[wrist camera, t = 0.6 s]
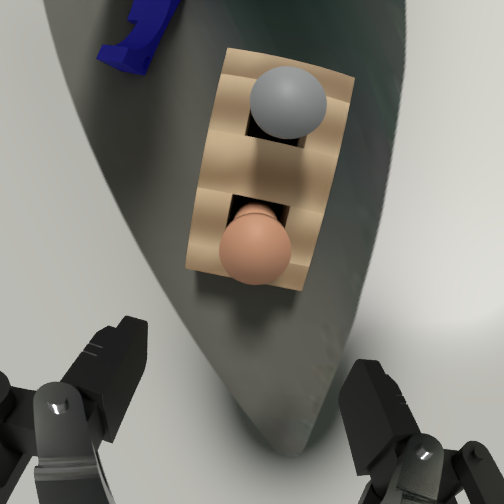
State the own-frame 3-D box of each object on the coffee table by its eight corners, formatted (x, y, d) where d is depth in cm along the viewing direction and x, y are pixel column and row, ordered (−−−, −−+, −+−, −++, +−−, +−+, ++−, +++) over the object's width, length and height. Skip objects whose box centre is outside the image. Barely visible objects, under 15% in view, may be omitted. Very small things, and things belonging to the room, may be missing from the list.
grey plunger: (257, 84, 23) (258, 59, 16) (311, 97, 23) (333, 77, 16) (246, 135, 24) (242, 129, 17) (300, 147, 25) (318, 146, 17)
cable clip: (153, -17, 21) (136, -40, 16) (188, -13, 22) (176, -39, 16) (111, 69, 25) (84, 57, 19) (145, 75, 26) (122, 62, 20)
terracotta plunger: (234, 192, 26) (225, 209, 19) (287, 203, 26) (299, 224, 19) (224, 243, 28) (213, 277, 20) (275, 253, 28) (281, 290, 21)
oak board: (232, 63, 25) (227, 47, 20) (339, 88, 26) (354, 77, 21) (195, 250, 32) (185, 268, 27) (295, 270, 32) (301, 291, 28)
